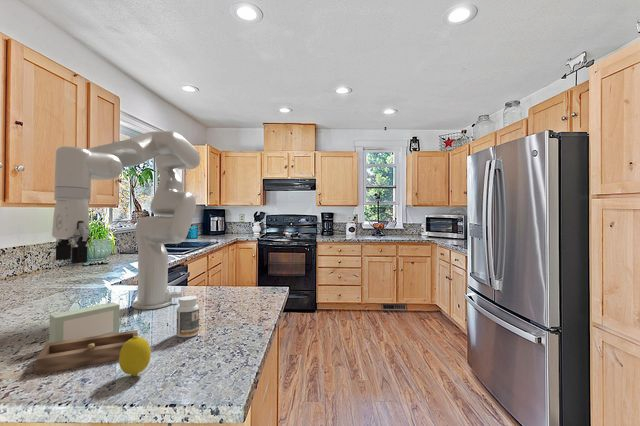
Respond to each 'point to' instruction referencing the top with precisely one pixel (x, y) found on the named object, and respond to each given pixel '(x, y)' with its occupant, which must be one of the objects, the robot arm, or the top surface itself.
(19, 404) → the top surface
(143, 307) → the robot arm
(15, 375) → the top surface
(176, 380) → the top surface
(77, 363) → the wooden tray
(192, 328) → the pill bottle
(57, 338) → the frame
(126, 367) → the lemon
